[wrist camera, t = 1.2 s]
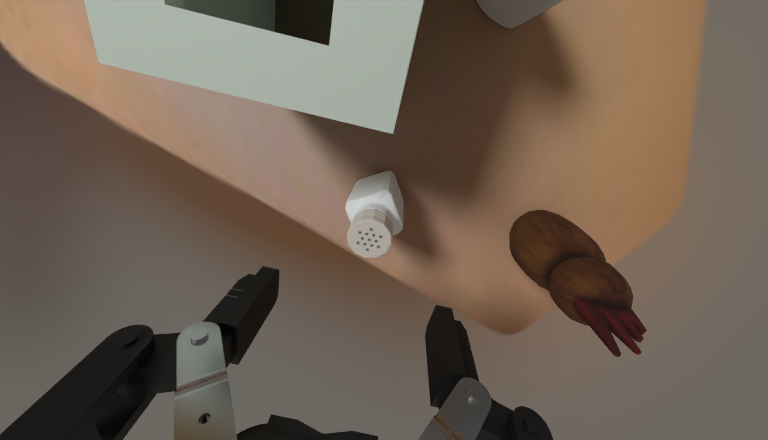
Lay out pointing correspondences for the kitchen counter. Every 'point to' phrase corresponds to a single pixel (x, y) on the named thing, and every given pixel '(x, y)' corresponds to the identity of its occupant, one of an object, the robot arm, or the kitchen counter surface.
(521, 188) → the kitchen counter surface
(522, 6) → the eye dropper bottle
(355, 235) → the salt shaker
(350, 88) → the tissue box
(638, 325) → the wooden figurine
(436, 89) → the kitchen counter surface
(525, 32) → the kitchen counter surface
